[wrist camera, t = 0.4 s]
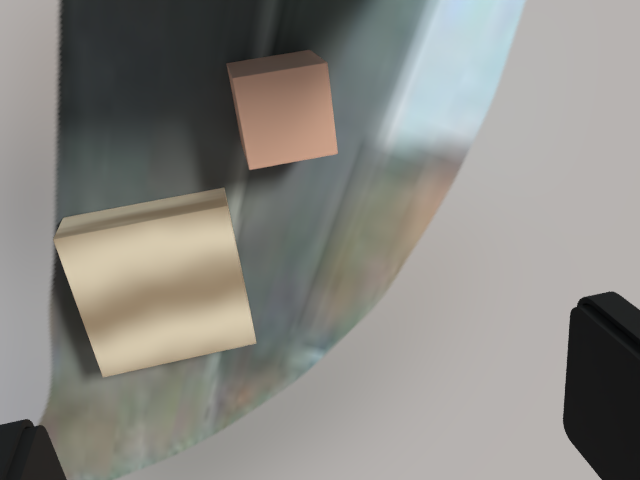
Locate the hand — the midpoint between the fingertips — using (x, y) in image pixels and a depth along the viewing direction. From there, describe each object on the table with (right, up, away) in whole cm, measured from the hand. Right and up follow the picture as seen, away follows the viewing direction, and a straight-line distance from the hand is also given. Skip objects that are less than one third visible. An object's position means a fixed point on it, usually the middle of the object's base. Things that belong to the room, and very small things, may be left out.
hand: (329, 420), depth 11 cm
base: (-12, +1, +33) cm, 35 cm away
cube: (-3, +13, +30) cm, 33 cm away
